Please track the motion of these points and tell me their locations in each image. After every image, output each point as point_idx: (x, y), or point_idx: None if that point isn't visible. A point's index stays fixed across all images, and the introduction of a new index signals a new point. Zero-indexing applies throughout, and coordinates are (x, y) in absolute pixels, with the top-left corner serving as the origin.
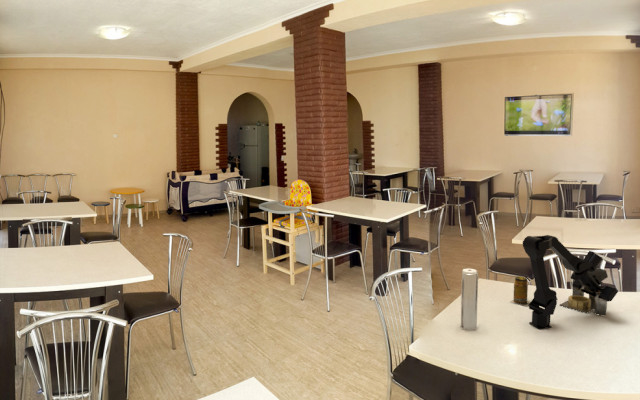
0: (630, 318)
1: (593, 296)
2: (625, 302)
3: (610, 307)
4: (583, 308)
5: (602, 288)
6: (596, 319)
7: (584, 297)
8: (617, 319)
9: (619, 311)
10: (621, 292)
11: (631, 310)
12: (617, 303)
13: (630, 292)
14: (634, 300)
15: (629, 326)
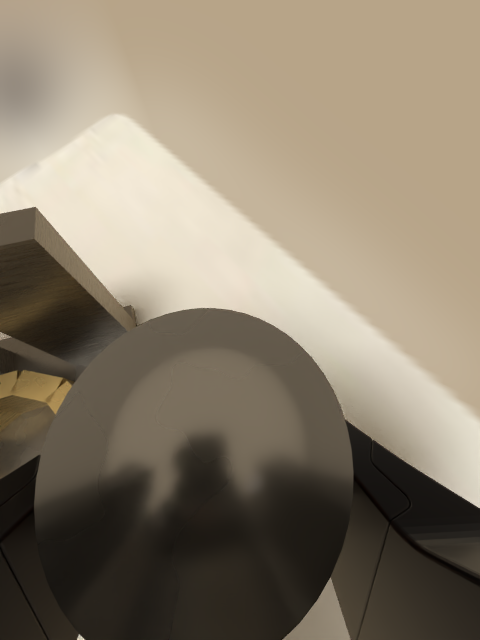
0: (346, 326)
1: (59, 328)
2: (170, 192)
3: (180, 291)
4: None
5: (195, 403)
6: (316, 603)
7: (5, 395)
8: (347, 413)
9: (244, 296)
10: (90, 134)
11: (254, 239)
12: (160, 224)
13: (112, 117)
14: (174, 156)
15: (472, 445)
